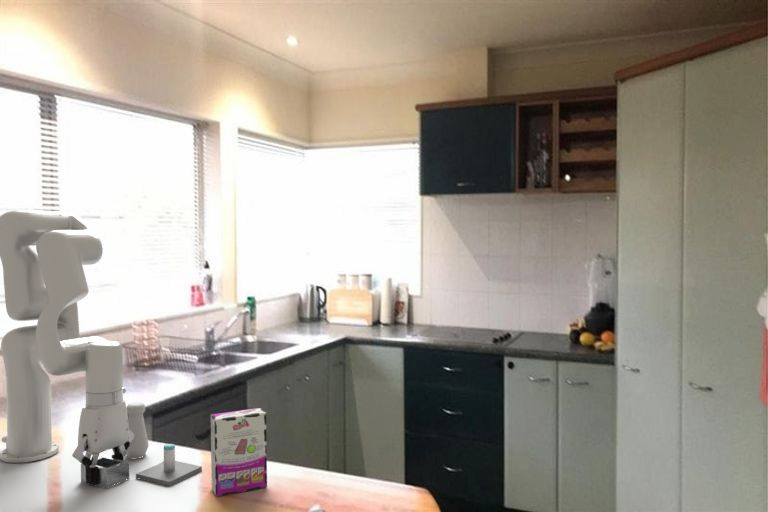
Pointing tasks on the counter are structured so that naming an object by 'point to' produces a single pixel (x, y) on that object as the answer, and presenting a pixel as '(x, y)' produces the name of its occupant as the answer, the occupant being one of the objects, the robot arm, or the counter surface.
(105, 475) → the link
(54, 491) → the counter surface
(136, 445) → the salt shaker
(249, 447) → the candy bar box
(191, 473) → the wall peg plate
